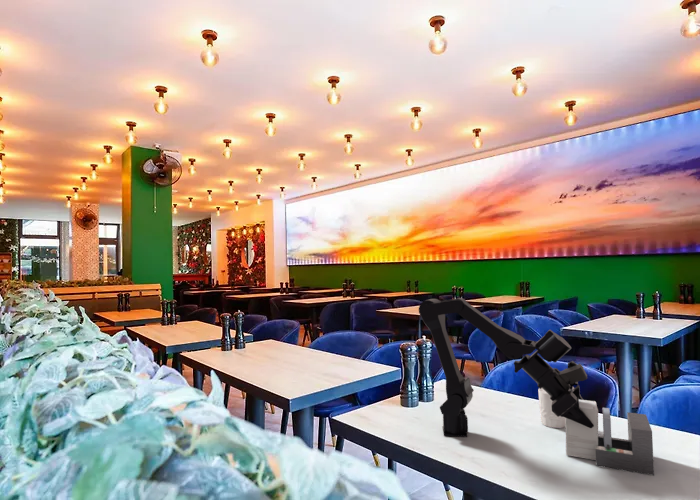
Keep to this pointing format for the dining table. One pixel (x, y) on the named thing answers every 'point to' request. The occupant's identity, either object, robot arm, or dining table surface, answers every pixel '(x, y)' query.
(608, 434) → the pad
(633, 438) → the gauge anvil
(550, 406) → the white cup
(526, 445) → the dining table surface
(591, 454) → the supplement box
